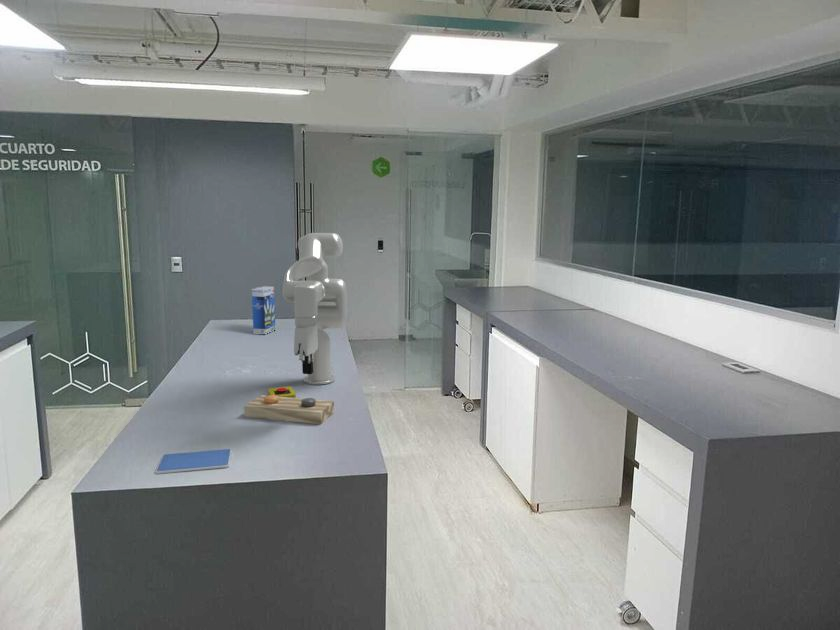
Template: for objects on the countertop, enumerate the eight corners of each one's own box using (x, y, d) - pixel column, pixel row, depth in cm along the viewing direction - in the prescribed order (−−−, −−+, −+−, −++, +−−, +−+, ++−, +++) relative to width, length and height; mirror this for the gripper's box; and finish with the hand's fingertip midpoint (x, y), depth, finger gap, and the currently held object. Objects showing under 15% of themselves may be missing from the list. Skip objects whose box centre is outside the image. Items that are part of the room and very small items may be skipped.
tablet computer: (154, 476, 164) (154, 471, 164) (162, 457, 176) (162, 453, 176) (229, 469, 168) (229, 465, 168) (232, 452, 181) (232, 447, 180)
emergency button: (271, 395, 220) (266, 384, 234) (272, 407, 221) (266, 395, 234) (297, 392, 223) (290, 381, 237) (297, 404, 224) (290, 392, 238)
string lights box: (265, 335, 338) (263, 289, 334) (252, 334, 340) (250, 288, 335) (276, 330, 351) (274, 286, 346) (263, 329, 353) (262, 285, 348)
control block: (261, 405, 220) (261, 395, 220) (334, 412, 214) (334, 401, 213) (244, 416, 209) (244, 405, 208) (321, 423, 203) (320, 412, 202)
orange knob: (268, 409, 216) (267, 394, 215) (280, 410, 215) (280, 395, 214) (262, 413, 211) (261, 398, 210) (274, 415, 210) (274, 399, 209)
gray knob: (305, 412, 213) (304, 397, 212) (318, 413, 212) (317, 398, 211) (299, 417, 208) (299, 401, 207) (312, 418, 207) (312, 403, 206)
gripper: (305, 316, 212) (306, 366, 216) (286, 325, 198) (288, 379, 201) (325, 317, 210) (326, 368, 214) (307, 326, 196) (309, 380, 200)
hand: (307, 373), depth 208 cm, fingers closed
